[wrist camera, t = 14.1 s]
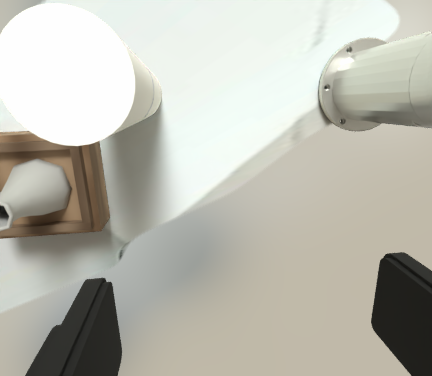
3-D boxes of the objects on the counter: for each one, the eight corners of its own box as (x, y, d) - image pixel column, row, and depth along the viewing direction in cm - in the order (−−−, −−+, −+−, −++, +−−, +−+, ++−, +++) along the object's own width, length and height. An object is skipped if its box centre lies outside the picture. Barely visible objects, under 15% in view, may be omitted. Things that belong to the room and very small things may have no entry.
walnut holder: (97, 128, 40) (83, 133, 34) (109, 217, 44) (99, 235, 38) (-5, 132, 39) (-38, 138, 33) (17, 223, 43) (-9, 243, 37)
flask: (6, 157, 35) (-59, 178, 26) (69, 158, 36) (30, 179, 27) (14, 214, 37) (-42, 252, 28) (75, 214, 38) (40, 251, 29)
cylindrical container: (171, 83, 40) (158, 55, 16) (146, 129, 41) (100, 168, 17) (122, 53, 38) (25, -30, 14) (97, 102, 39) (-28, 102, 15)
